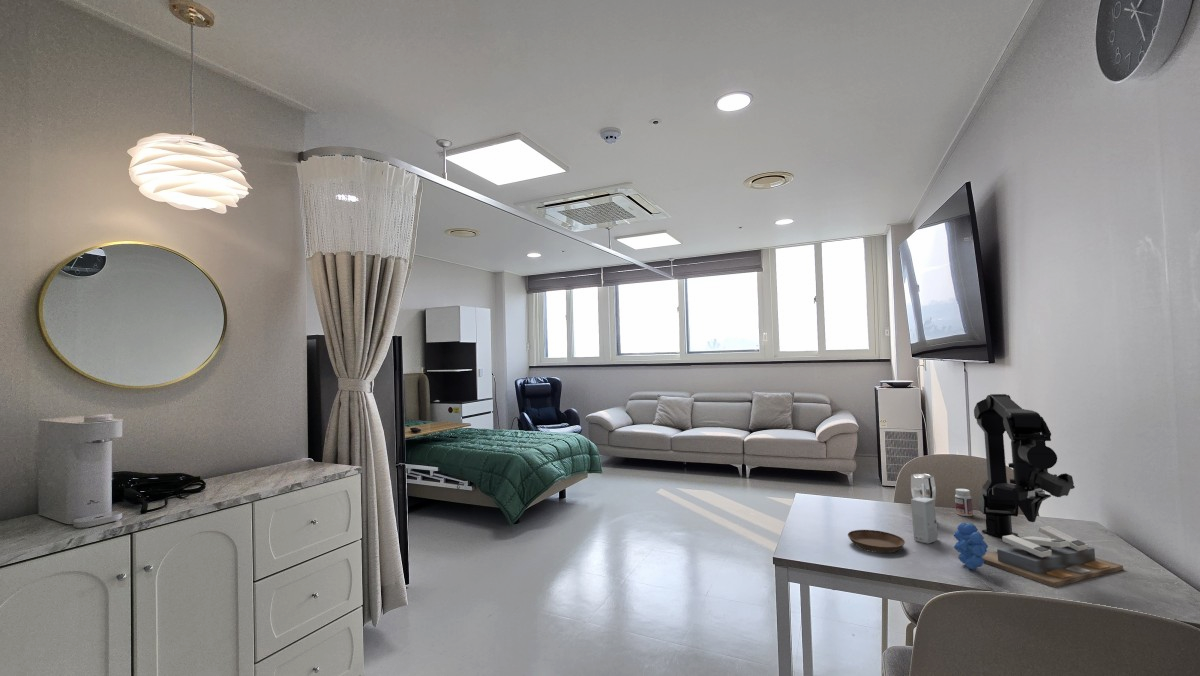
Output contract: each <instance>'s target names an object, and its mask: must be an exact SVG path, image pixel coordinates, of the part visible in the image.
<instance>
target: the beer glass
mask: <svg viewBox="0 0 1200 676" xmlns="http://www.w3.org/2000/svg"><path fill="white" fill-rule="evenodd" d="M936 491H937V489H936V482H935V476H934V475H932V474H927V473H912V474H910V492H911V496H912V499H914V498H918V497H925V498H931V499H934V504H935V505H936V494H937V492H936Z"/></svg>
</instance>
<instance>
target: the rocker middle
mask: <svg viewBox="0 0 1200 676" xmlns="http://www.w3.org/2000/svg"><path fill="white" fill-rule="evenodd" d="M1021 538H1022V539H1024V540H1027V541H1029V542H1032V543H1034V544H1037V545H1043V546H1051V547H1059V548H1062V547H1066V546H1070V543H1069V541H1067V540H1063V539H1050V538H1051V537H1040V536H1032V535H1030V536H1023V537H1021Z"/></svg>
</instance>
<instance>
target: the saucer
mask: <svg viewBox="0 0 1200 676" xmlns="http://www.w3.org/2000/svg"><path fill="white" fill-rule="evenodd" d="M847 537H848V539H849V540H850V541H851V542H852V543H853V544H854V545H855V546H856V547H858V548H859V547H860V548H859V549H861V548H862V549H861V550H864V549H865V550H864V551H867V550H868V552H872V551H873V553H878V552H880V554H887V553H888V554H889V553H890V552H891V553H895V552H898V551H899V550H900V549H902V547H904V545H905V544H906V541H905V539H904V538H903V537H900V536H898V535H896V534H894V533H890V532H886V531H881V530H874V529H856V530H850V531H849V532H848V533H847Z"/></svg>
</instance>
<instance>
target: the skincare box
mask: <svg viewBox="0 0 1200 676" xmlns="http://www.w3.org/2000/svg"><path fill="white" fill-rule="evenodd" d="M935 505H936V503H935V504H934V499H931V498H925V497H918V498H914V499H913V498H911V499H910V507H911V509H910V510H911V520H912V530H913V540H914V541H915V542H919V543H924V544H931V543H934V542H936V541H938V539H939V536H938V527H937V524H938V523H937V517H936V516H937V515H936V507H935Z"/></svg>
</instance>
